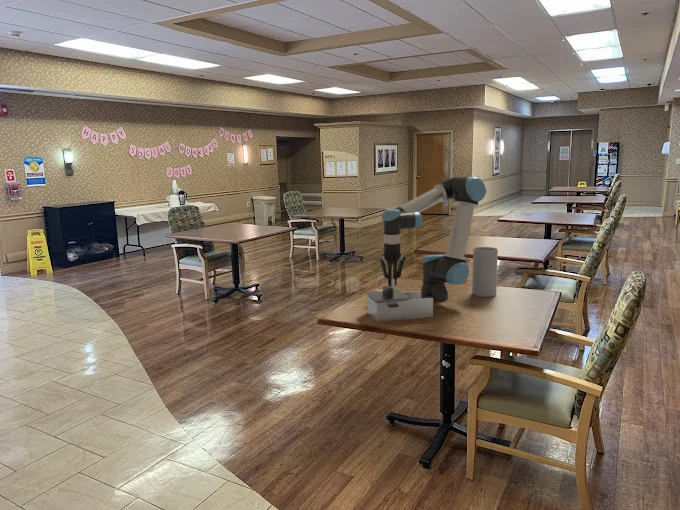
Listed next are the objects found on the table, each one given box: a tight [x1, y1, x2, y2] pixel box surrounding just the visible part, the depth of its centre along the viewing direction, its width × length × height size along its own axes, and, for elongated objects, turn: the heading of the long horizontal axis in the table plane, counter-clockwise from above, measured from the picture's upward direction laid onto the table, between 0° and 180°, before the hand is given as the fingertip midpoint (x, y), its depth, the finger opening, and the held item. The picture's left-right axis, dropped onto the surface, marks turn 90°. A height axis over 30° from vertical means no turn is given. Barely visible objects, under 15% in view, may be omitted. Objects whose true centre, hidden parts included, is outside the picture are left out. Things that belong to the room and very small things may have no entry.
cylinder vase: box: [471, 246, 499, 298], centre depth 277 cm, size 12×12×25 cm
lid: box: [366, 285, 410, 303], centre depth 244 cm, size 16×16×4 cm
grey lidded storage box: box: [366, 289, 434, 323], centre depth 247 cm, size 28×19×9 cm
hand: (392, 292), depth 245 cm, fingers closed
